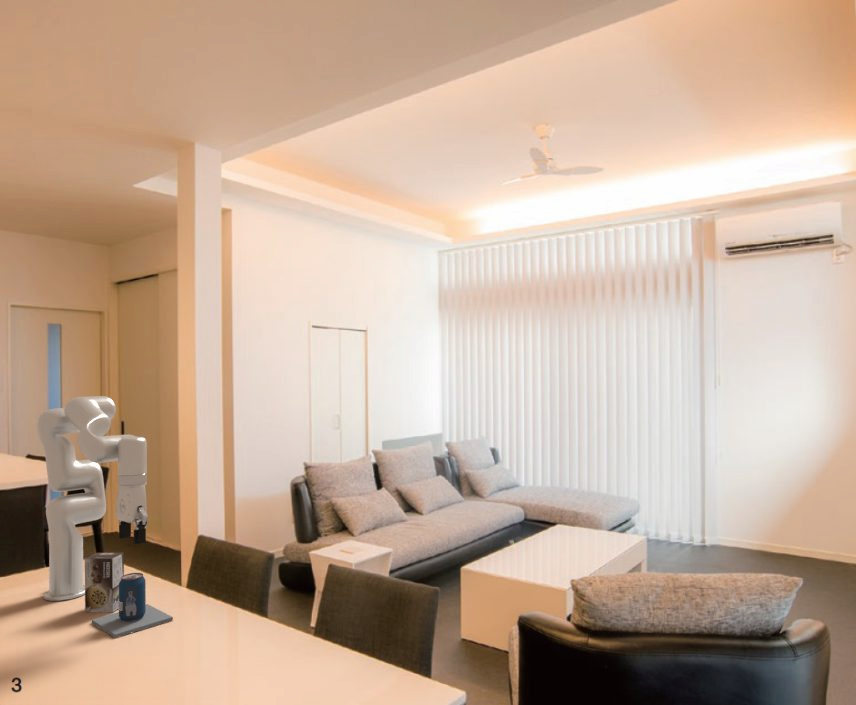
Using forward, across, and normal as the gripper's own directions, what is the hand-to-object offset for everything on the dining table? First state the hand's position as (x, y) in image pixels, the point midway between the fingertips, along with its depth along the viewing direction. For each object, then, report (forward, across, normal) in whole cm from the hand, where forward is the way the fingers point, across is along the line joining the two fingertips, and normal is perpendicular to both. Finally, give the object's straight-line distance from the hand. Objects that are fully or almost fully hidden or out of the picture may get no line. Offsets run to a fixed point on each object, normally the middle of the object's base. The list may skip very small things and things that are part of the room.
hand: (132, 540), depth 184 cm
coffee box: (+23, -17, -1) cm, 29 cm away
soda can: (+22, 0, 0) cm, 22 cm away
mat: (+23, 0, 0) cm, 23 cm away
